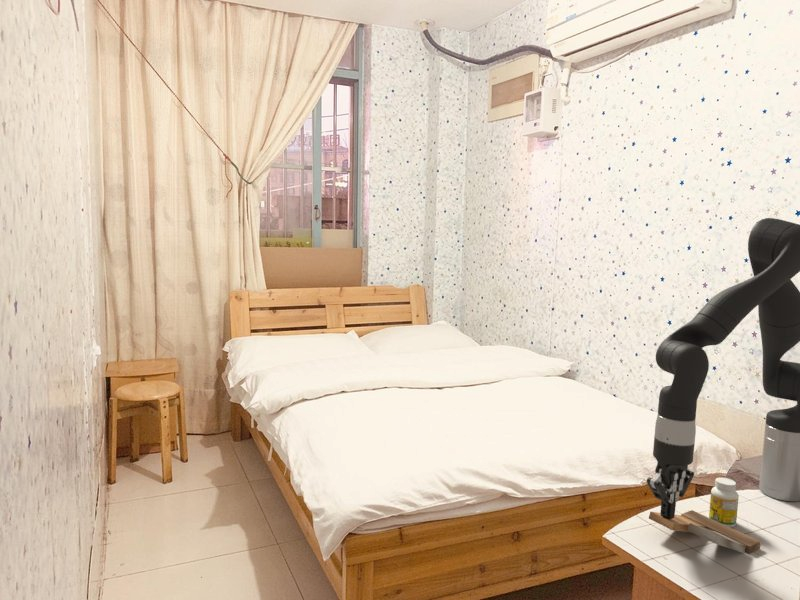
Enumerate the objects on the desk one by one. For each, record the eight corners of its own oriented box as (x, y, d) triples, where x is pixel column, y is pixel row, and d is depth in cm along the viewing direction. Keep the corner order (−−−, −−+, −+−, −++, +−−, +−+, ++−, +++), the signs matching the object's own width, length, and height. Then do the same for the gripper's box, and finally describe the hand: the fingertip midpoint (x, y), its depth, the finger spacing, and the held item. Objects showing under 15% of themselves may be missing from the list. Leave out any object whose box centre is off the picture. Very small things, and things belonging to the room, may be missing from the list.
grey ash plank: (717, 540, 121) (719, 533, 122) (743, 552, 117) (746, 545, 117) (687, 530, 115) (689, 522, 115) (714, 543, 111) (716, 535, 111)
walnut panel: (691, 516, 132) (692, 510, 131) (759, 548, 119) (760, 541, 119) (680, 520, 130) (681, 514, 129) (748, 553, 117) (749, 546, 117)
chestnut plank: (680, 522, 129) (682, 515, 129) (704, 533, 124) (706, 526, 124) (648, 518, 123) (650, 511, 123) (672, 530, 118) (674, 523, 118)
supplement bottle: (740, 529, 126) (744, 487, 125) (713, 527, 127) (717, 485, 126) (729, 517, 132) (733, 477, 131) (704, 515, 132) (708, 475, 131)
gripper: (670, 448, 112) (663, 533, 114) (710, 438, 119) (703, 518, 121) (637, 436, 119) (631, 516, 121) (677, 427, 126) (670, 503, 128)
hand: (667, 517), depth 121 cm, fingers closed
